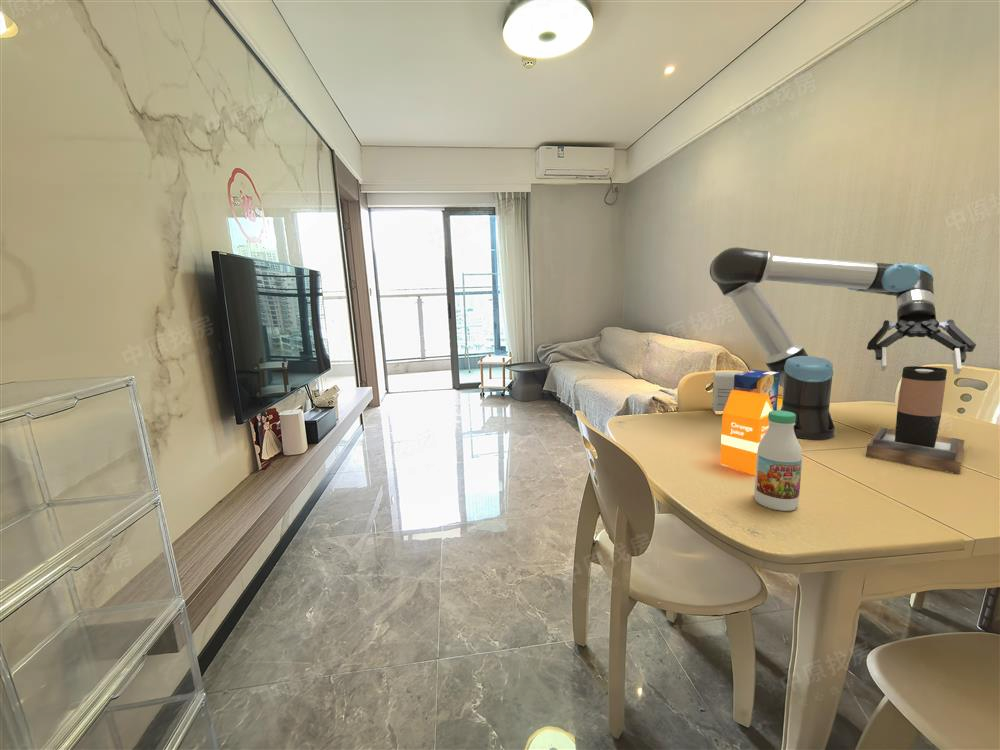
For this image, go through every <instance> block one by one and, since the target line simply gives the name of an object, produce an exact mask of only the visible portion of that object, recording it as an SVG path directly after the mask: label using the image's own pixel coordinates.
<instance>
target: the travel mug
mask: <svg viewBox="0 0 1000 750" xmlns="http://www.w3.org/2000/svg"><path fill="white" fill-rule="evenodd" d="M901 373H902V374H901V381H900V386H899V388H900V389H899V395H898V402H897V408H896V410H897V411H896V421H895V430H896V431H895V442H901V443H907V444H913V445H919V446H925V447H931V448H934V447H935V443H936V438H937V436H938V434H939V433H938V432H939V429H940V424H941V423H940V422H941V419H942V412H943V411H942V410H943V402H944V396H945V395H944V394H945V387H946V382H947V373H948V370H947V369H946V368H943V367H934V366H921V365H920V366H917V365H916V366H914V365H913V366H911V365H910V366H904V367H903V368H902V372H901Z"/></svg>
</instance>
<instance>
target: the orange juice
mask: <svg viewBox="0 0 1000 750" xmlns="http://www.w3.org/2000/svg"><path fill="white" fill-rule="evenodd" d="M770 411H773V408H772V405H771V402H770V399H769V396H768V395H766V394H760V393H753V392H746V391H739V390H732V391H731V393H730V396H729V399H728V401H727V404H726V406H725V409H724V412H723V415H722V419H721V422H722V423H721V436H720V437H721V438H720V439H721V440H720V463H722V464H725V465H728V466H730V467H733V468H735V469H738V470H741V471H743V472H742V473H744V472H746V473H745V474H747V473H749V474H748V475H751V476H754V475H755V474H756V460H757V450H758V446H759V443H760V441H761V439H762V438H763V436H764V435H765V433H766V431H767V429H768V427H769V422H768V413H769V412H770ZM720 463H719V464H720ZM738 470H737V471H738ZM741 471H740V472H741Z"/></svg>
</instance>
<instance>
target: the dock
mask: <svg viewBox="0 0 1000 750" xmlns="http://www.w3.org/2000/svg"><path fill="white" fill-rule="evenodd" d="M895 431H896V429H893V428H887V427H880V426H879V429H878V430H877V431H876V433H875V434H874V435H873V437H872V438H871V440H870V441H869V443H868V444H867V446H866V454H865V456H866V457H869V458H874V459H880V460H884V461H891V462H895V463H900V464H905V465H909V464H910V465H911V466H915V465H917V466H916V467H920V466H923V467H922V468H925V467H927V468H926V469H930V468H932V469H931V470H935V469H937V471H940V470H942V472H946V471H948V472H947V473H951V472H953V473H952V474H956V473H958V474H957V475H960V470H961V464H962V459H963V452H964V447H965V446H964V445H965V440H966V439H962V438H961V439H959V438H956V437H947V436H942V435H941V436H940V435H937V438H936V443H935V447H934V448H931V447H925V446H919V445H913V444H907V443H901V442H895Z"/></svg>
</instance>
